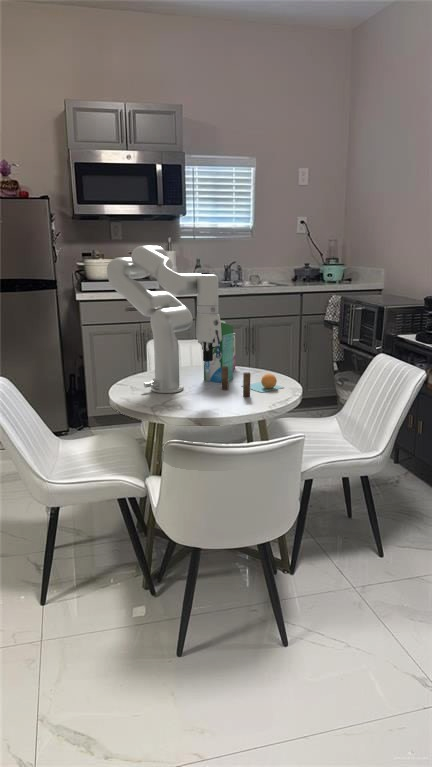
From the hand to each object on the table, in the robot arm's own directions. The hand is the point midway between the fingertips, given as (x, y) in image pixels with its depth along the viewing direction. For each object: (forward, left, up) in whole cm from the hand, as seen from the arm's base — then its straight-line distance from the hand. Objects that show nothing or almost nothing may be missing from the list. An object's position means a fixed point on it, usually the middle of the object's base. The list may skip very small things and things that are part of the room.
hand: (207, 360), depth 190 cm
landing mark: (+27, 0, -14) cm, 30 cm away
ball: (+27, -3, -11) cm, 30 cm away
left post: (+13, +6, -14) cm, 20 cm away
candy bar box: (+35, +32, -14) cm, 50 cm away
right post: (+13, -7, -14) cm, 20 cm away
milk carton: (+21, +21, -14) cm, 33 cm away
